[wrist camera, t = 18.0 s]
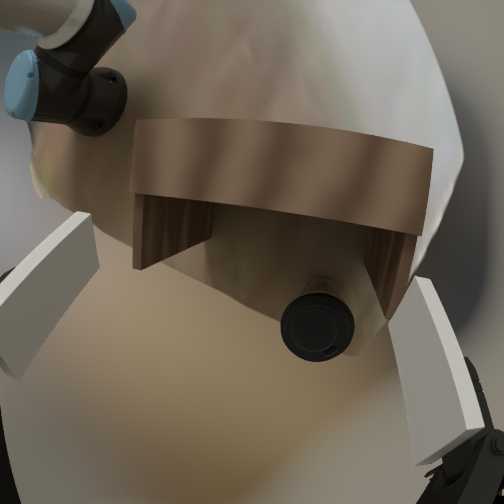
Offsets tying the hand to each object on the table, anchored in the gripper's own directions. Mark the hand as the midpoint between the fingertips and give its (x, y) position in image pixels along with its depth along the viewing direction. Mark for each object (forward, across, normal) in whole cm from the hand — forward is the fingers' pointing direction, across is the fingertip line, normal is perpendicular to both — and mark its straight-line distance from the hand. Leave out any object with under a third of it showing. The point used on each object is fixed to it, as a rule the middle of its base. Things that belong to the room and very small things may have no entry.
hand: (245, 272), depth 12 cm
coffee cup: (+30, +12, -25) cm, 40 cm away
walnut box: (+35, +4, -13) cm, 38 cm away
